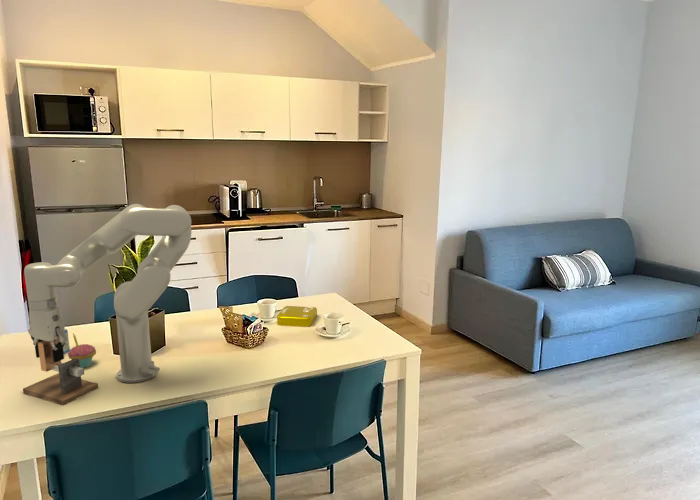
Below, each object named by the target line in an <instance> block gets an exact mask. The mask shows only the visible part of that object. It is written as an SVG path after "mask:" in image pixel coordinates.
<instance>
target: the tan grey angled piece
mask: <svg viewBox="0 0 700 500" xmlns="http://www.w3.org/2000/svg"><path fill="white" fill-rule="evenodd" d="M54 339H56V338H54ZM55 343H56V345H57V343H58V340H57V341H55ZM38 349H39V356H40V357H39V361H40V363H39V364H40V370H41V371H43V372H45V373H48V372H50V371H53V372H54V371H55V372H57V373H59V369H58V365H60V364H63V363H64V362H62V360H60V361H58V362H54V361H53V353H52V350H54V349H53V347H52V345H51V342H49V341H41V342H39V343H38ZM84 368H85V367H83V368H81V367H77V366H73V365H72V366H69V367H67V374H69V375H72V376H76V377H80V376H81V377H82V376H84V375H85V370H84Z"/></svg>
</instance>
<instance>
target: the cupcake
mask: <svg viewBox="0 0 700 500" xmlns="http://www.w3.org/2000/svg"><path fill="white" fill-rule="evenodd" d="M72 336H73V340H74V343H75V346H73V347H72V348H70V351H69V352H67V356H68V359H69V360H72V359H75V358H77V359H79V364H80V367H81V368H86V367H89V366H91V364H92V360H93V357H95V355H96V353H97V349H96V347H95V346H93V345H92V344H91V345H90V344H88V343H87V344H83V343H82V344H79V343H78V339H77V337H76V334H75V333H72Z"/></svg>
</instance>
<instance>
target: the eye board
mask: <svg viewBox="0 0 700 500" xmlns="http://www.w3.org/2000/svg"><path fill="white" fill-rule="evenodd" d="M62 363H63V364H60V365H58V369H59V372H57V373H55V374H52V375H50V376H49V377H47V378H44V379H42V380H39V381H37V382H35V383H32V384H30V385H28V386H26V387H23V388H22V393H23V394H24V395H27V396H31V397H35V398H38V399H41V400H43V401H47V402H51V403H54V404H56V405H57V404H58V405H61V406H66V405H68V404H70V403H71V402H73V401H75V400H77V398H78V399H80V398H82V397H83V396H85V395H87V394H89V393H91V392H93V391H95V390H98V389H99V383H98V382H93V381H90V380H86V379H82V376H80V377H76V376H72V375H69V374H67V367H69V366H72V365H73V366H77V367H80V364H79V359H77V358H75V359H69V360H68V361H65V362H62Z"/></svg>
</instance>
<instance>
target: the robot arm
mask: <svg viewBox="0 0 700 500" xmlns="http://www.w3.org/2000/svg"><path fill="white" fill-rule="evenodd" d="M137 236H149V237H152V236H153V237H155V236H156V237H158V236H161V239H160V240H159V241H158V243H157V244H156V245H155V247H154V248H153V249H152V250H151V251H150V253H149V254H147V256H145V258H144V259H143V260H142V261H141V262H140V263H139V265H138V266H137V274H136V275H135V276H134V277H133V278H132V280H130V281H129V280H128V281H125V282H122V283H120V285H119V286H117V288H116V290H115V291H114V294H113V308H114V311H115V317H116V319H115V320H116V328H117V341H118V350H119V359H120V361H119V363H120V369H119V370H118V371H117V373H116V379H117V381H119V382H122V383H127V384H132V383H140V382H144V381H147V380H150V379H152V378H154V377H156V376H157V375H158V372H159V371H160V367H158V366H156V365H155V361H154V360H153V359H152V347H151V336H150V335H151V334H150V322H149V310H150V309H151V307H152V306H153V305H154V304H155V302H156V301H157V300H158V299H159V298H160V297H161V296H162V294H163V293H164V292H165V291H166V290H167V288H168V285H169V284H170V282H171V271H172V270H173V268H175V266H176V265H177V264H178V262H179V261H180V260H181V258H182V257H183V256H184V254H185V253H186V251H187V249H188V248H189V245H190V243H191V239H192V217H191V215H190V214H189V213H188V211H187V210H186V209H185V208H184V207H182V206H181V205H179V204H178V205H177V204H171V205H168V206H167V207H165V208H158V207H157V208H155V207H146V206H145V205H142V204H140V203H133V204H130V205H128V206H126V207H125V208H124V209H122V211H120V212H119V213H117V214H116V215H115V216H114V217H112V218H111V219H110V220H109V221H108V222H106V223H105V224H104V225H103V226H101V227H100V228H99V229H97V230H96V231H95V232H94V233H93V234H91V235H89V237H88V238H86V239H85V240H84V241H82V242H81V243H80V244H78V245H77V246H76V247H74V248H72V250H71V251H69V252H68V253H67V254H66V255H65V256H63V257H62V258H61V259H59V261H58V263H57V264H54V265H53V264H52V263H50V262H45V261H44V262H43V261H41V262H33V263H29V264H27V265H26V266H25V267H24V271H23V273H24V280H25V287H26V293H27V294H26V295H27V296H26V297H27V303H28V309H29V314H28V316H29V317H28V318H29V319H28V320H29V322H28V323H29V329H28V330H27V332H28V335H29V337H30V339H31V340H32V342H33V343H32V345H34V350H35V357H36V358H37V359H38V358H39V359H40V356H39V349H38V343H39V342H41V341H49V342H51V345H52V347H53V349H54V350H52V353H53V361H54V362H58V361H60V360H61V361H63V360H64V359H65V354H64V352H63V347H64V344H65V342H66V340H67V337H66V336H65V329H66V327H65V323H64V318H63V315H62V311H61V309H60V307H59V303H58V294H57V288H72V287H74V286H76V285H78V284H80V281H81V280H82V277H83V274H85V272H86V271H88V269H90V267H92V266H93V265H95V264H96V263H98V261H100V260H101V259H103V258H105V257H107V256H111V255H114V254H116V253H117V252H118V251H119V250H121V249H122V248H123V247H125V245H127V244H129V242H131V241H132V240H133V239H134V238H136V237H137ZM54 337H57V338H56V339H54ZM57 340H58V343H57V345H56V343H55V341H57Z"/></svg>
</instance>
